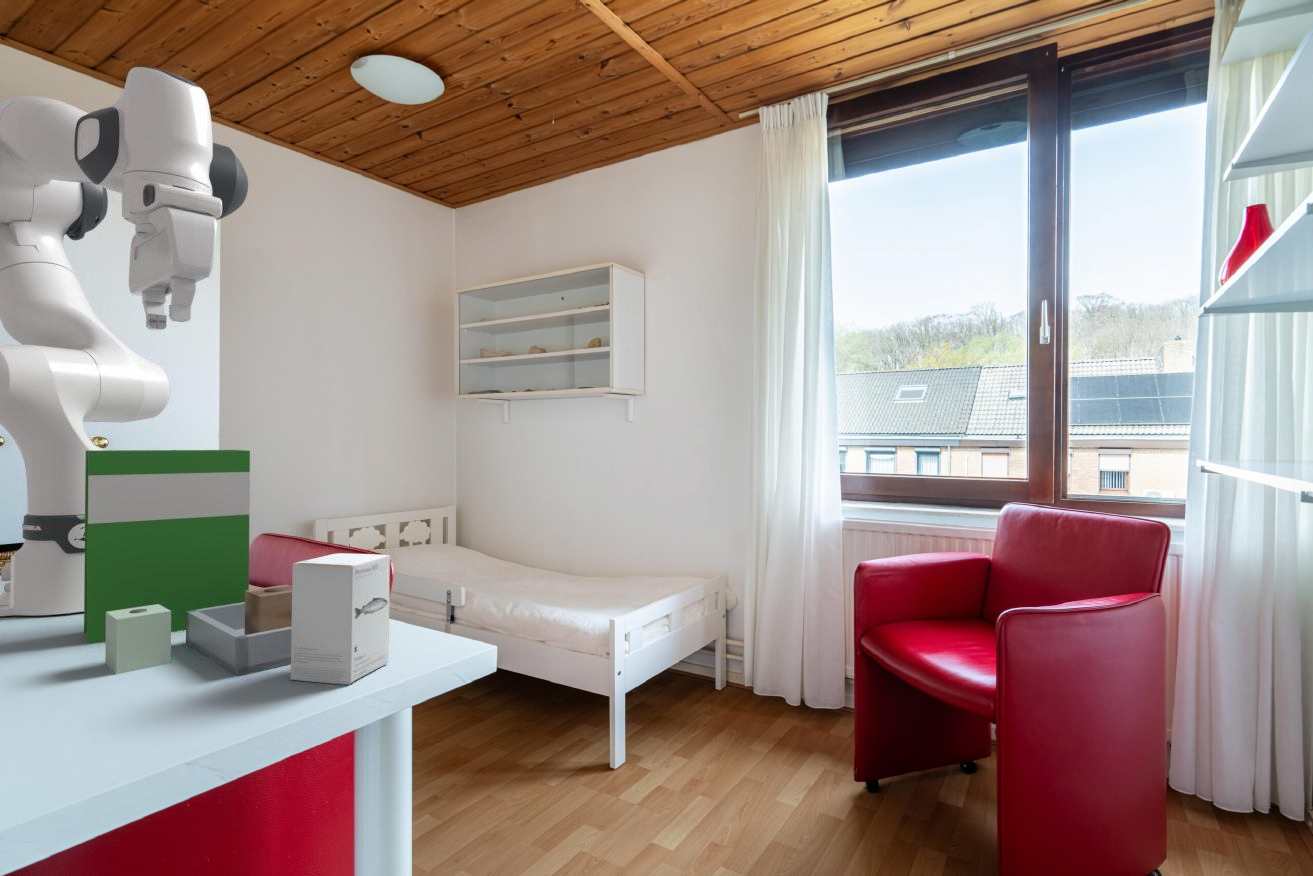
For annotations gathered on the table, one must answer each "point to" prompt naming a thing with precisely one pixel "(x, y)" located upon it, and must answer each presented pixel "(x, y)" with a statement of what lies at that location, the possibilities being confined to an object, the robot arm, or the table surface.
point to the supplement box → (339, 617)
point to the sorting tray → (236, 640)
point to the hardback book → (164, 532)
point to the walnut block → (268, 609)
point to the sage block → (138, 638)
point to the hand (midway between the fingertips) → (167, 325)
